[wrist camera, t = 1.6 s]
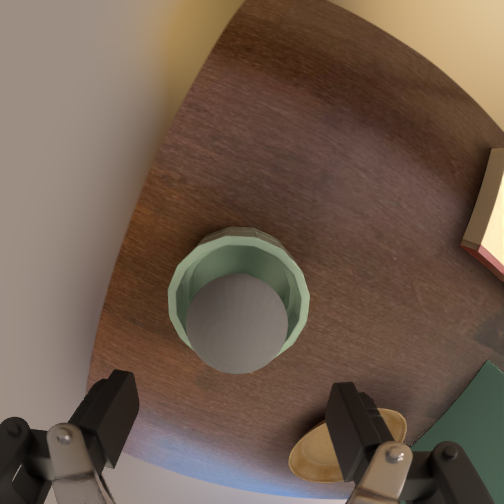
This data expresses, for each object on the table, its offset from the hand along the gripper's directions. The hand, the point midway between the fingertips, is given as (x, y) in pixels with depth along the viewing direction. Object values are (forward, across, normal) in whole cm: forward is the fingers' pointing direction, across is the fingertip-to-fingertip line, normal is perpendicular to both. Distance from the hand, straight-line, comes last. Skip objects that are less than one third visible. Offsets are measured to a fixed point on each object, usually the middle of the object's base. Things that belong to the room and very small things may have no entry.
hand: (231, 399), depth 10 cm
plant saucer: (+14, -14, +20) cm, 28 cm away
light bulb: (+14, 0, 0) cm, 14 cm away
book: (+14, -32, -7) cm, 35 cm away
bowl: (+14, 0, 0) cm, 14 cm away
